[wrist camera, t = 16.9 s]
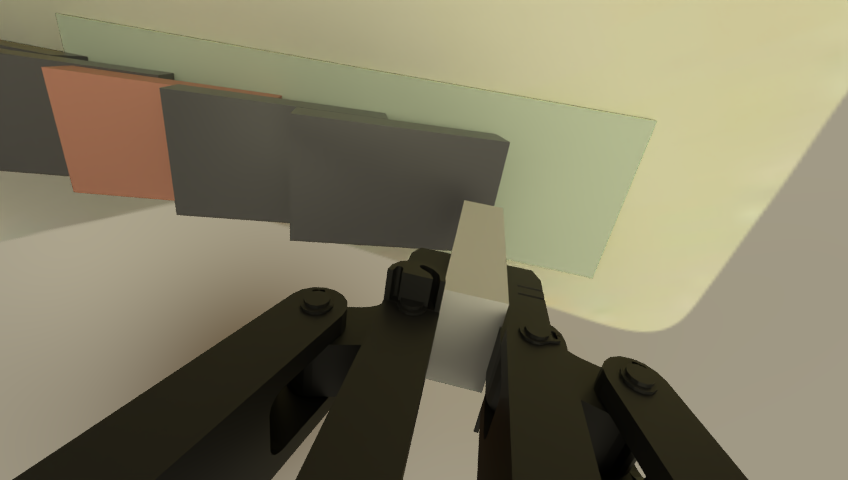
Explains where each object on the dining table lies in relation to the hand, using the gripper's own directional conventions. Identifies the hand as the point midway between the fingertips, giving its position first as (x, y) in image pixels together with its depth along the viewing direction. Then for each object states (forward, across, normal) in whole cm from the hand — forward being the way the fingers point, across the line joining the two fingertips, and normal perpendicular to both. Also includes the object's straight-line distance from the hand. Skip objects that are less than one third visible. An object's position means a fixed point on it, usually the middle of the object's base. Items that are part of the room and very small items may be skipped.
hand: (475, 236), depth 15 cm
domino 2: (+6, -6, 0) cm, 8 cm away
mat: (+7, -9, 0) cm, 12 cm away
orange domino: (+6, -12, 0) cm, 13 cm away
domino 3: (+6, 0, 0) cm, 6 cm away
